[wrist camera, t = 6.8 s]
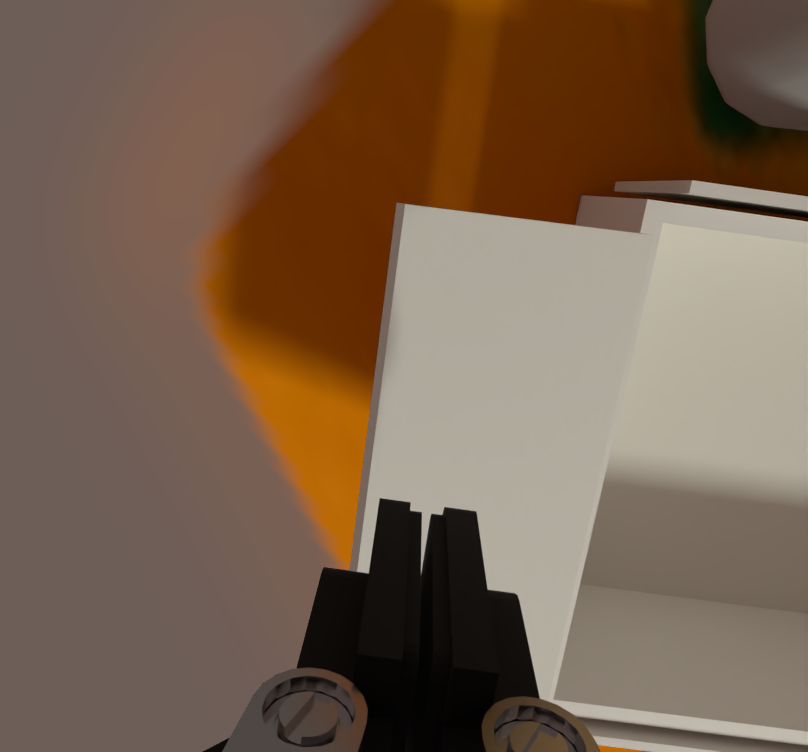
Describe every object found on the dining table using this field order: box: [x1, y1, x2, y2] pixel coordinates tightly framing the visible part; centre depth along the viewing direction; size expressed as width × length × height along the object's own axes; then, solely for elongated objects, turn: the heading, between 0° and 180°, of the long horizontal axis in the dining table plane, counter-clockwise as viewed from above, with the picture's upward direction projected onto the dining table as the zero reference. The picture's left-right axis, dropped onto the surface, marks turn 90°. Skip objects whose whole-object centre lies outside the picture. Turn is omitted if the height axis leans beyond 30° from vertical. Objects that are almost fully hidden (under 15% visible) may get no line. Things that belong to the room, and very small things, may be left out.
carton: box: [548, 180, 808, 752], centre depth 22 cm, size 16×16×7 cm
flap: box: [350, 203, 654, 701], centre depth 17 cm, size 13×6×1 cm, turn 172°
